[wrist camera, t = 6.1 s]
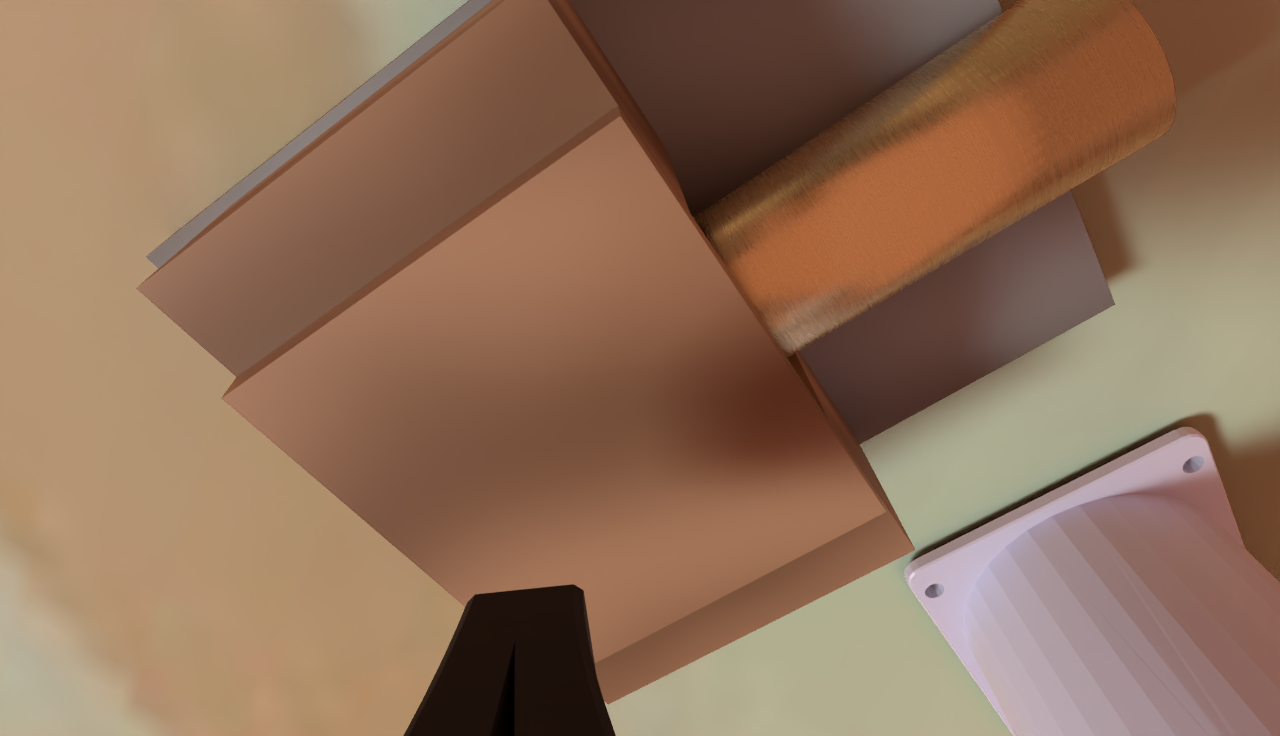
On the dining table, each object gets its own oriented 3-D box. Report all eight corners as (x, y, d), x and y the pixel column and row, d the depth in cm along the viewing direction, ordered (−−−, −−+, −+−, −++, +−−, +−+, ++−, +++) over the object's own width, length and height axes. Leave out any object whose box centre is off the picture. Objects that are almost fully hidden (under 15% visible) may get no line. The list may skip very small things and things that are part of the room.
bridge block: (1088, 284, 17) (1265, 415, 13) (544, 587, 21) (536, 773, 16) (853, -305, 12) (1019, -429, 8) (169, 237, 15) (4, 372, 11)
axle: (1073, 96, 15) (1187, 166, 12) (481, 464, 18) (484, 573, 16) (1035, -51, 13) (1161, -1, 11) (385, 388, 16) (372, 499, 14)
